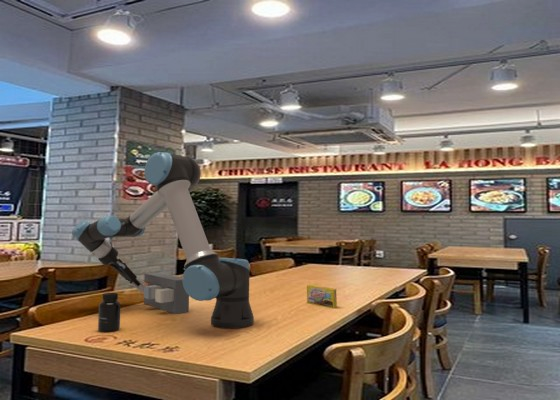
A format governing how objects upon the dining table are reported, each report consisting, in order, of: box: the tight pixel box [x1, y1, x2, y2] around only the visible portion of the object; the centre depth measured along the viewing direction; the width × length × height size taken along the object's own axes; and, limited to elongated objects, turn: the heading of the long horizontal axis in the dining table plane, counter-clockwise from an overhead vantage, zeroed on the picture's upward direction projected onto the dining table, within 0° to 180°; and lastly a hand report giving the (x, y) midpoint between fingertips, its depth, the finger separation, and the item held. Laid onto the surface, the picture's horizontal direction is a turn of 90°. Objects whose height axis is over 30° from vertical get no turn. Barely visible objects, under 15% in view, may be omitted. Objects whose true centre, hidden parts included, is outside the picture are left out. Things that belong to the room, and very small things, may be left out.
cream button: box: [155, 288, 174, 303], centre depth 178 cm, size 8×5×5 cm, turn 130°
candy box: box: [306, 284, 338, 309], centre depth 196 cm, size 16×2×8 cm, turn 42°
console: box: [143, 272, 190, 315], centre depth 190 cm, size 6×29×13 cm, turn 40°
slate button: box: [143, 285, 162, 299], centre depth 187 cm, size 8×5×5 cm, turn 130°
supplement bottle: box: [97, 292, 122, 333], centre depth 151 cm, size 7×7×12 cm
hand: (143, 289), depth 195 cm, fingers closed
